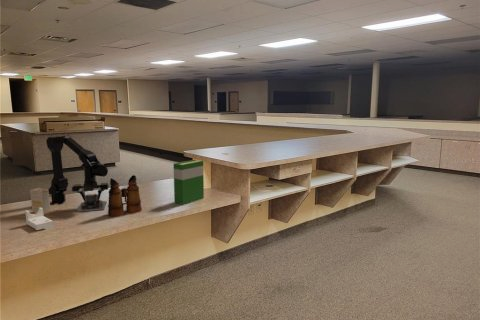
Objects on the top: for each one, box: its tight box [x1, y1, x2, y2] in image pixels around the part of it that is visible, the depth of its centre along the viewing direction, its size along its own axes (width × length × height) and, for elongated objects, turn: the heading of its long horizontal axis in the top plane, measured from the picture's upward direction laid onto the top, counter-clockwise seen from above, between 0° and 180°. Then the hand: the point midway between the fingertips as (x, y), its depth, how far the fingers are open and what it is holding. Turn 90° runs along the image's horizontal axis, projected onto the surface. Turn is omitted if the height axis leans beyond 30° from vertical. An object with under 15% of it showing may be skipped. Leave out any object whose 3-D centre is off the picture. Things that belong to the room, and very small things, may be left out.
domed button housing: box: [85, 193, 98, 205], centre depth 193 cm, size 7×6×5 cm
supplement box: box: [29, 187, 52, 215], centre depth 183 cm, size 8×5×13 cm, turn 71°
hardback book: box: [173, 159, 205, 205], centre depth 207 cm, size 18×7×24 cm, turn 142°
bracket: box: [24, 208, 54, 231], centre depth 164 cm, size 13×7×8 cm, turn 50°
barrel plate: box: [76, 199, 108, 213], centre depth 194 cm, size 14×14×3 cm
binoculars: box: [107, 174, 142, 218], centre depth 184 cm, size 18×8×20 cm, turn 130°
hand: (91, 201), depth 193 cm, fingers closed on domed button housing, 7 cm apart
